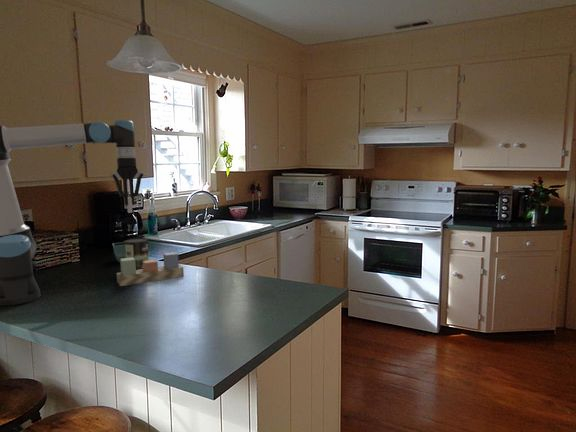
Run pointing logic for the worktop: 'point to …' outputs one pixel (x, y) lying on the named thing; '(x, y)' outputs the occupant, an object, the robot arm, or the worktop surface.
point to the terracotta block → (150, 265)
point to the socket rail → (149, 276)
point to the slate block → (171, 260)
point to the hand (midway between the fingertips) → (130, 212)
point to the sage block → (128, 266)
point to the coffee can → (137, 251)
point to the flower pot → (119, 250)
